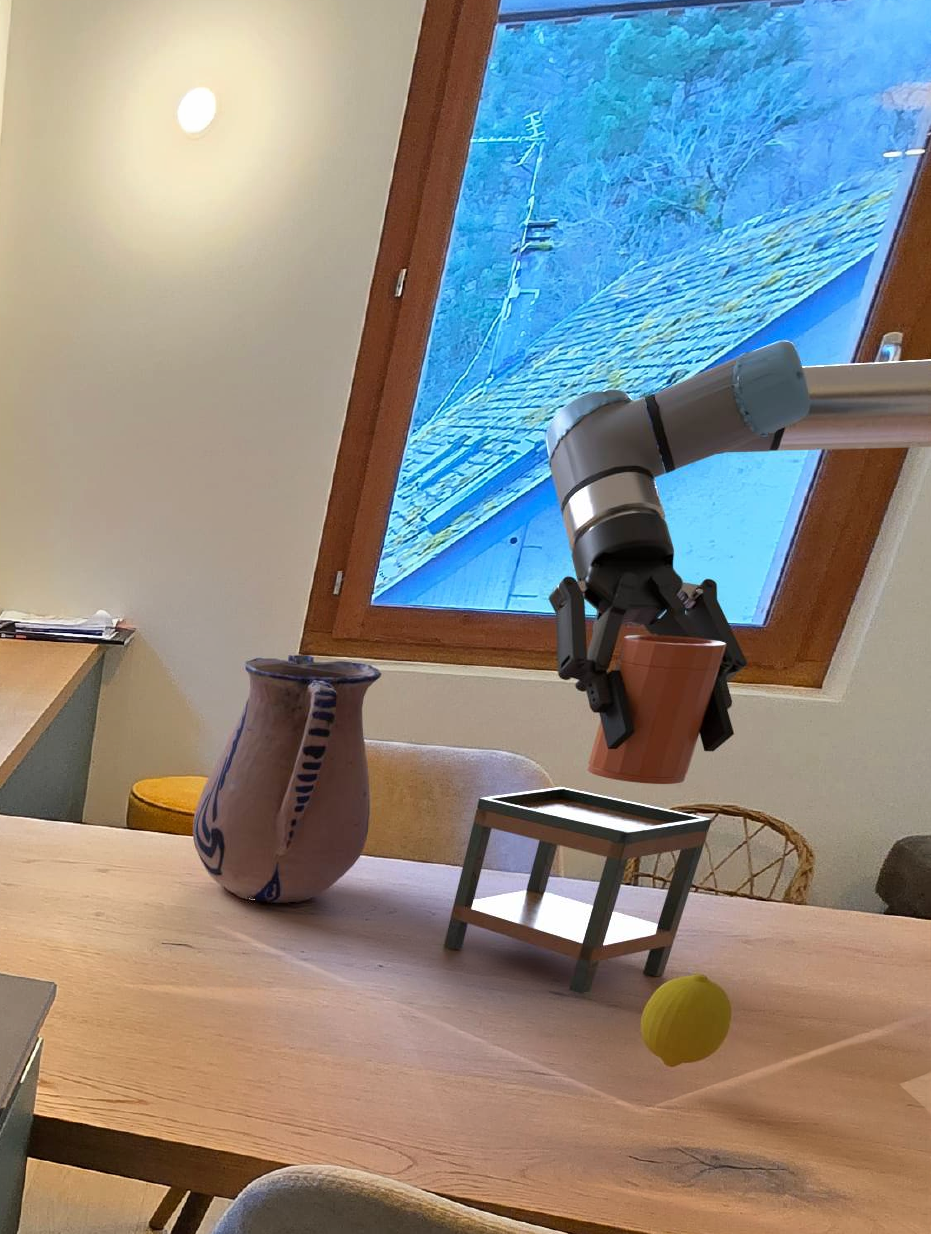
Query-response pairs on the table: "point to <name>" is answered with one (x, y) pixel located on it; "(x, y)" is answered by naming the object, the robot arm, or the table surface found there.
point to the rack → (598, 928)
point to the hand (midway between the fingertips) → (670, 741)
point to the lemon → (686, 1020)
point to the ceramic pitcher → (289, 783)
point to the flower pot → (660, 707)
